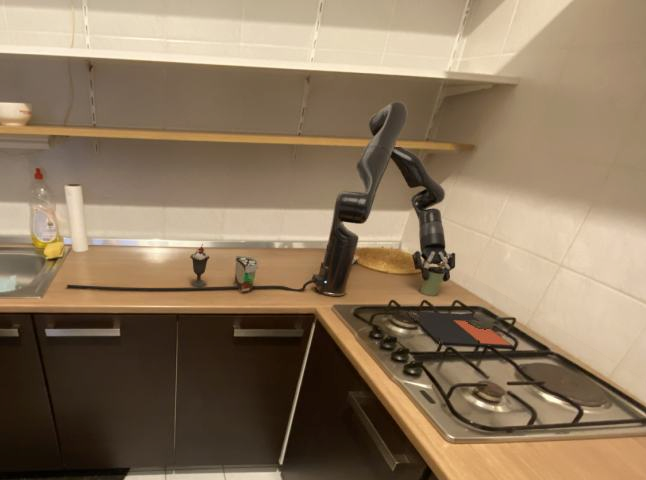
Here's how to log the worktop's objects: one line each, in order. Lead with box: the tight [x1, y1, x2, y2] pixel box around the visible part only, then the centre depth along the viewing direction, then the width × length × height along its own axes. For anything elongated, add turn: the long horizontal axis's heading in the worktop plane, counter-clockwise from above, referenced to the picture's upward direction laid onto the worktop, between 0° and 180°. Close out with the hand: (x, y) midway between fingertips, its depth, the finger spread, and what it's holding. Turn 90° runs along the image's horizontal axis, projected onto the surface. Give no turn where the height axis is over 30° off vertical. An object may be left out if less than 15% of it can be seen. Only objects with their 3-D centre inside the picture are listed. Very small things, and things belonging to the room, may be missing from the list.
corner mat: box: [411, 310, 515, 350], centre depth 113 cm, size 20×20×1 cm
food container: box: [233, 255, 259, 294], centre depth 133 cm, size 12×6×10 cm, turn 9°
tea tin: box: [419, 266, 446, 297], centre depth 136 cm, size 5×5×9 cm
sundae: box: [189, 243, 211, 287], centre depth 133 cm, size 7×7×15 cm
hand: (436, 280), depth 134 cm, fingers open, 6 cm apart
